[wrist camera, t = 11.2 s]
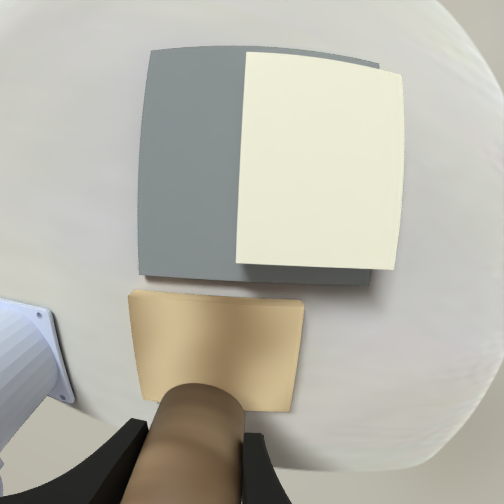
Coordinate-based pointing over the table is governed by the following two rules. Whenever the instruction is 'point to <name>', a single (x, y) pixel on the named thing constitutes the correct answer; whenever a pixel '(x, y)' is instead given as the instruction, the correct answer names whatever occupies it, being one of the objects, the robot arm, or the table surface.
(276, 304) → the board
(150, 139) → the mat
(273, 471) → the robot arm
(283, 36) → the table surface
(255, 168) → the tile
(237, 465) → the dowel
